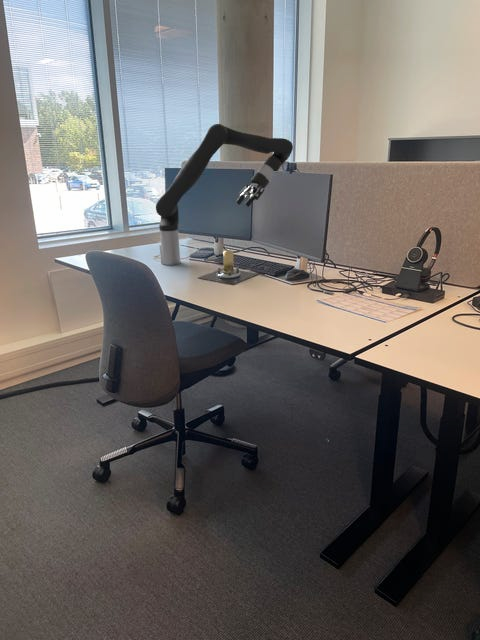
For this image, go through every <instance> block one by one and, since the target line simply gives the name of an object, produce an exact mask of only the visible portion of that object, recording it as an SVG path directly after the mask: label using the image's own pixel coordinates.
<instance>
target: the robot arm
mask: <svg viewBox="0 0 480 640" xmlns="http://www.w3.org/2000/svg"><path fill="white" fill-rule="evenodd" d="M223 145H231V146H237V147H241V148H244V149H245V150H249V151H253V152H257V153H260V154H267V155H268V154H270V153H272V155H271V156H268V158H267V159H266V160H265V162H264V163H263V164H262V165H261V166H260V167H259V169H258V170H257V171H256V173H254V175H253V176H252V178H251V179H250V182H251V183H250V185H249V184H246V185H245V186H244V187H243V188H242V189H241V190H240V191H239V197H238V198H237V200H236V201H235V202H236V204H237V205H241V204H242V202H244V200H245V199H247V198H248V199H247V200H246V201H245V202H244V204H245V206H246V207H250V206H251V205H252V203H253V202H255V201H258V200H259V199H260V197H261V196H262V195H263V193H264V192H265V189H266V187H267V186H268V185H269V183H271V182H272V180H271V179H273V178H272V176H273V172H274V171H277V172H279V169H280V168H281V167H282V166H283V164H285V162H286V161H287V160H288V159H289V158H290V156H291V154H292V152H293V149H294V146H293V145H294V144H293V143H292V142H291V141H290V140H289V139H287V138H283V137H282V138H281V137H277V138H276V137H266V136H262V135H258V134H252V133H248V132H247V133H246V132H242V131H238V130H234V129H232V128H230V127H227V126H225V125H223V124H221V123H215V124H213V125H211V126H210V127H209V128H208V130H207V132H206V134H205V136H204V138H203V140H202V141H201V143H200V144H199V146H198V148H197V149H196V150H195V151H194V152H193V153H192V154H191V155H190V156H189V157H188V159H187V160H186V161H185V163H184V164H183V166H182V167H181V168H180V170H179V172H178V173H177V175H175V178H174V179H173V181H172V183H171V185H170V186H169V188H167V190H166V191H165V192H164V194H163V195H162V196H161V197H160V198H159V199H158V200H157V202H156V205H155V211H156V213H157V215H158V216H160V222H159V226H158V227H159V238H160V239H159V240H160V245H159V255H160V263H161V264H163V265H165V266H174V265H179V264H180V263H181V252H180V250H181V249H180V239H179V222H180V221H179V220H180V219H179V207H178V204H179V202H180V200H181V199H182V197H183V196H185V194H186V193H187V192H188V191H190V190H191V189H192V187H193V186H194V185H195V184H196V183H197V182H198V180H199V179H200V177H202V176H203V173H204V171H205V170H206V168H207V167H208V165H209V163H210V160H212V157H213V156H214V155H215V154H216V153H217V151H218V150H219V149H220V148H221V147H222V146H223Z"/></svg>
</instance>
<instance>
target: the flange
mask: <svg viewBox="0 0 480 640" xmlns="http://www.w3.org/2000/svg"><path fill="white" fill-rule="evenodd" d="M223 270H224V268H220V267H217V270H215V271H212V272H210V273H207V274H204V275H201V276H199V277H197V279H200V280H205V281H210V282H215V283H221V284H224V285H225V284H226V285H231V286H234V285H237V284H240V283H241V282H244V281H246V280H248V279H251V278H254V277H256V276H258V275H260V274H259V273H257V272H252V271H247V270H246V271H245V270H240V266H236V267H235V269H234V274H231V270H228V274H223Z"/></svg>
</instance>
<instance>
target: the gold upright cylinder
mask: <svg viewBox="0 0 480 640" xmlns="http://www.w3.org/2000/svg"><path fill="white" fill-rule="evenodd" d="M222 255H223V256H222V257H223V260H222V261H223V262H222V263H223V268H224V270H223V274H228V270H231V274H234V270H235V268H234V250H230V249H225V250H222ZM223 268H222V269H223Z"/></svg>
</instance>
